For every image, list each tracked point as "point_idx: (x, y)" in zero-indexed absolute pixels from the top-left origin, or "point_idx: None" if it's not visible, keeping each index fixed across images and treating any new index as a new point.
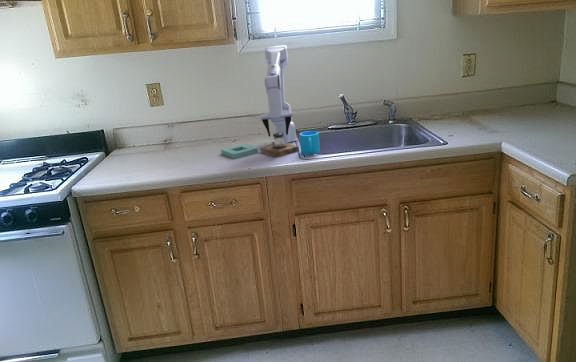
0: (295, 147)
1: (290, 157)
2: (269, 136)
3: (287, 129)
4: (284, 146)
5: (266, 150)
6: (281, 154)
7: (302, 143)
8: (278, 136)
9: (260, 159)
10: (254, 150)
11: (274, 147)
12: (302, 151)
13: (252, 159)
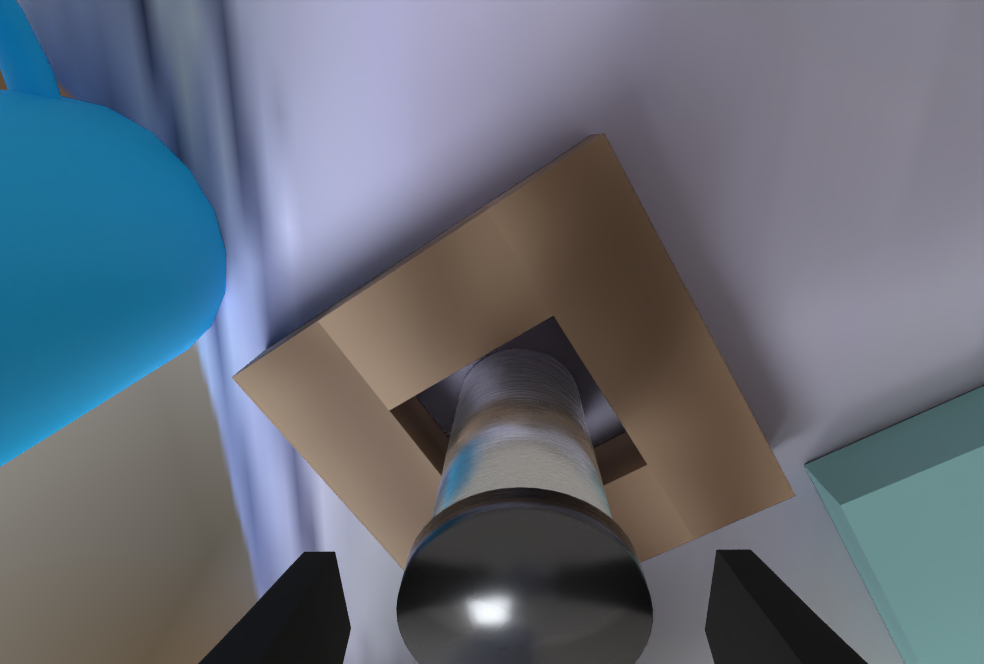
0: (277, 345)
1: (368, 30)
2: (741, 553)
3: (228, 657)
4: None
5: (727, 370)
6: (505, 192)
7: (35, 170)
8: (524, 493)
9: (854, 93)
10: (883, 465)
11: None
12: (169, 177)
13: (975, 143)
